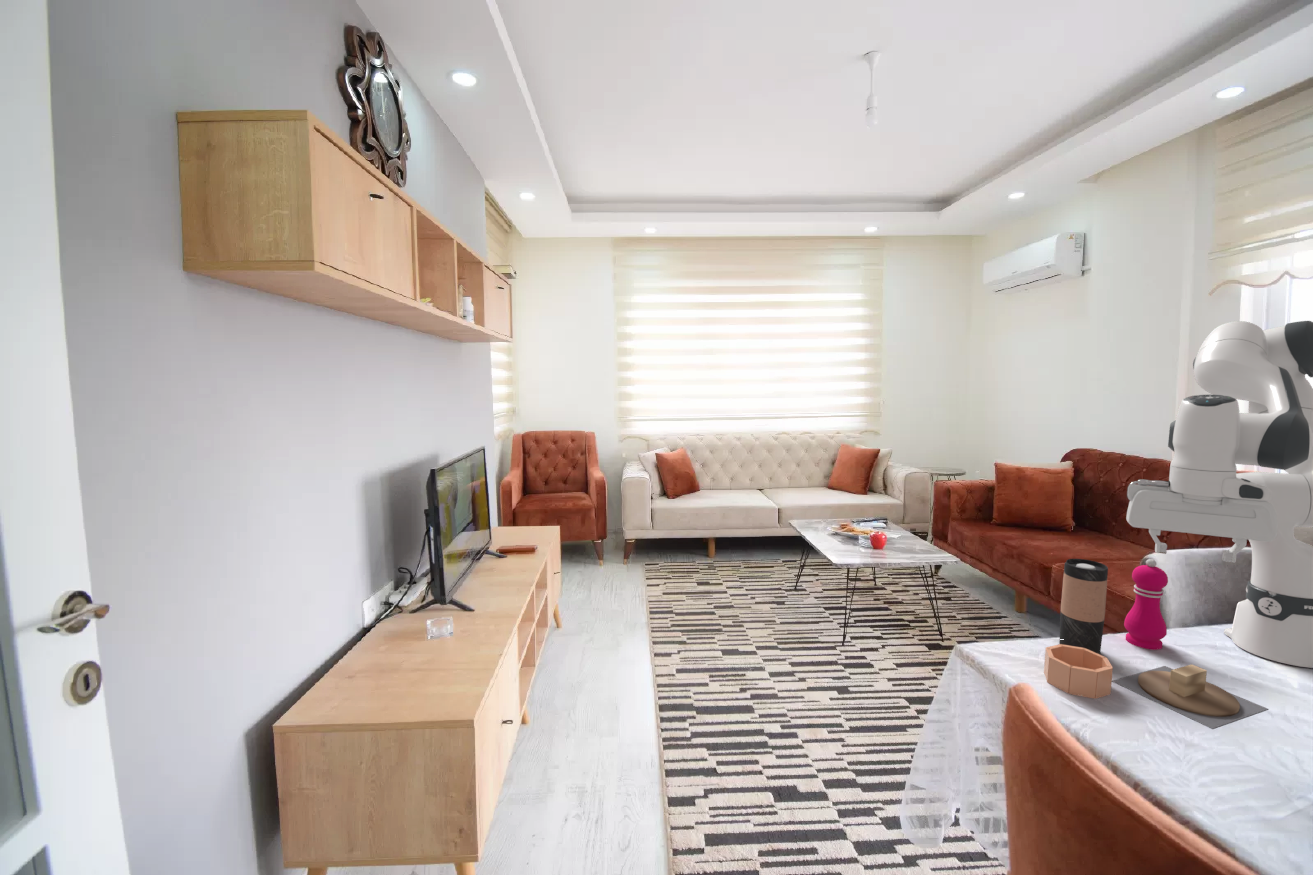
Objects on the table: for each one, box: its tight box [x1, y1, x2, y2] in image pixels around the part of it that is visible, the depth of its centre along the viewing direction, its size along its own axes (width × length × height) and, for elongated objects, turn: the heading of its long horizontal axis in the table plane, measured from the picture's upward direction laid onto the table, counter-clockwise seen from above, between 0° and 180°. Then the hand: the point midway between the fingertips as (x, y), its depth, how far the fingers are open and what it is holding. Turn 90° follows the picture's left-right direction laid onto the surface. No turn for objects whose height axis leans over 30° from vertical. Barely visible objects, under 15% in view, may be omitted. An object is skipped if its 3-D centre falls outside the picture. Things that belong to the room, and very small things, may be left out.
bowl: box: [1043, 644, 1114, 700], centre depth 112 cm, size 10×10×6 cm
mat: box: [1112, 665, 1269, 730], centre depth 108 cm, size 16×16×1 cm
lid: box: [1138, 663, 1240, 717], centre depth 107 cm, size 14×14×5 cm
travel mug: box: [1059, 558, 1109, 655], centre depth 124 cm, size 8×8×20 cm
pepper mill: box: [1123, 558, 1169, 651], centre depth 127 cm, size 7×7×20 cm
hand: (1193, 556), depth 107 cm, fingers open, 8 cm apart
